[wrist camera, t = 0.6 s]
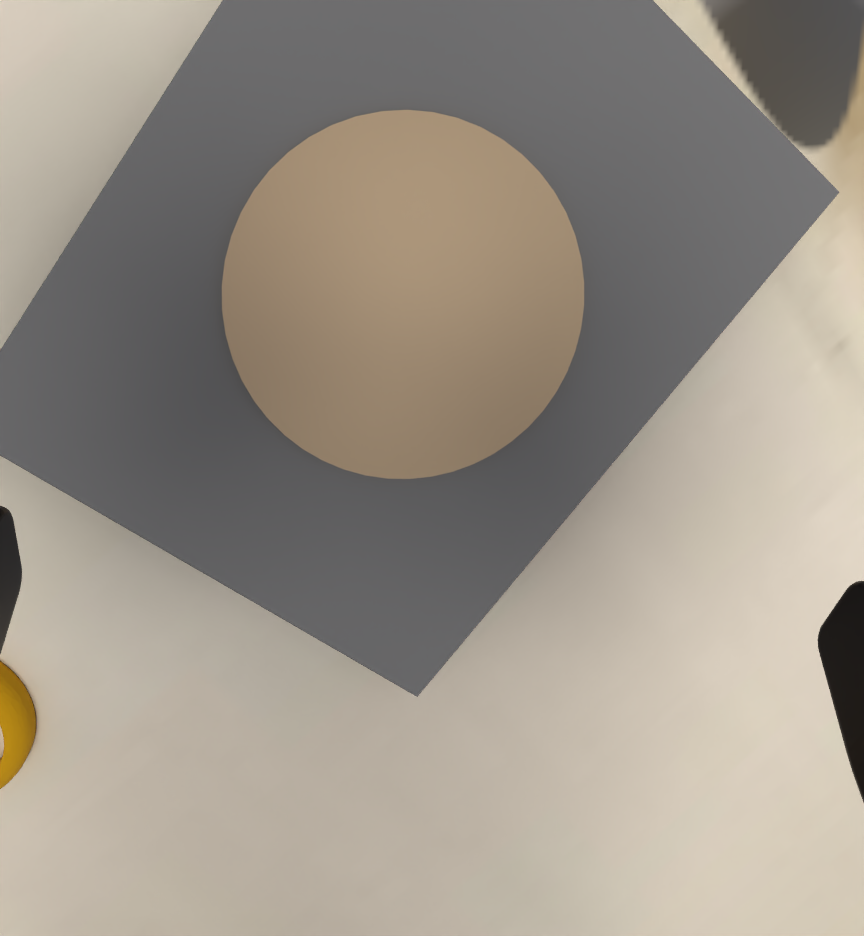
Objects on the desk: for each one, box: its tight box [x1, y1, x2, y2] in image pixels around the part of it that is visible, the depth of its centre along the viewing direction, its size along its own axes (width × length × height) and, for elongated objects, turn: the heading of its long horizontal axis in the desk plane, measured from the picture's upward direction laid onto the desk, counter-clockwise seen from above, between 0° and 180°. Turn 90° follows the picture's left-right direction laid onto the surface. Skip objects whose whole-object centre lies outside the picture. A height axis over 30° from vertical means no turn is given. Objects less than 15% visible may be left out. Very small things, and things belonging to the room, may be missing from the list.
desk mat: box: [0, 0, 839, 696], centre depth 23 cm, size 20×16×1 cm
